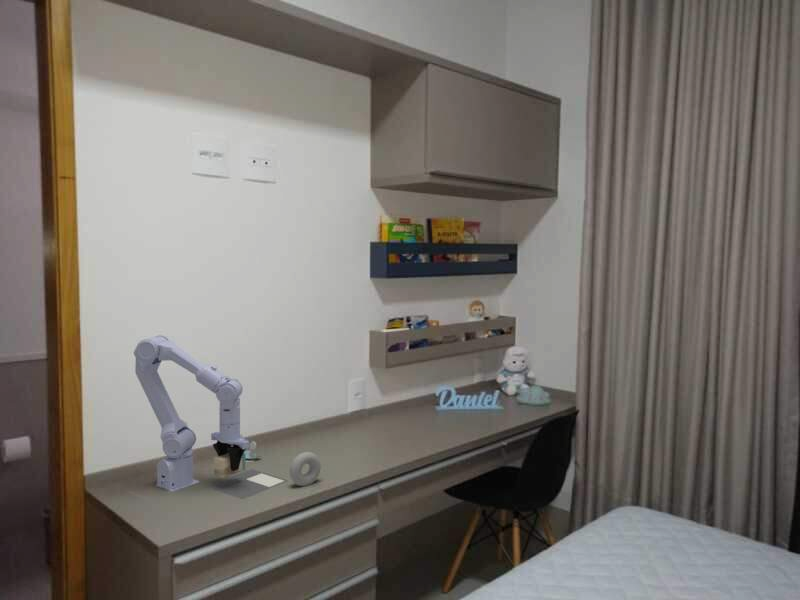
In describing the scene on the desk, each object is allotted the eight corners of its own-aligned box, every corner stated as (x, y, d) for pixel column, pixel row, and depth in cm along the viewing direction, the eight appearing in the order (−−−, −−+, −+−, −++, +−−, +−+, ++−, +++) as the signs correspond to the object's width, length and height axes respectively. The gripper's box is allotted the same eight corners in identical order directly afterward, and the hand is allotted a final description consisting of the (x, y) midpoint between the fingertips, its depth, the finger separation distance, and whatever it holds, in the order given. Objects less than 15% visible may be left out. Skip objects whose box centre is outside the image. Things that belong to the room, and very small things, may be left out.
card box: (223, 477, 167) (223, 460, 167) (214, 474, 170) (214, 457, 169) (245, 469, 174) (245, 453, 173) (236, 466, 176) (236, 450, 176)
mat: (242, 501, 161) (242, 498, 161) (206, 487, 170) (206, 485, 170) (288, 482, 175) (288, 480, 175) (252, 470, 184) (252, 468, 184)
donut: (316, 480, 177) (316, 447, 177) (322, 483, 175) (323, 450, 174) (287, 488, 171) (287, 454, 170) (293, 491, 168) (293, 457, 168)
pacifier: (248, 466, 189) (264, 460, 194) (247, 447, 189) (263, 442, 193) (235, 460, 194) (251, 455, 199) (235, 442, 194) (250, 437, 198)
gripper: (257, 423, 170) (257, 469, 171) (224, 415, 178) (225, 459, 179) (237, 429, 164) (237, 476, 165) (205, 420, 172) (205, 465, 173)
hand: (229, 468), depth 172 cm, fingers closed on card box, 4 cm apart
